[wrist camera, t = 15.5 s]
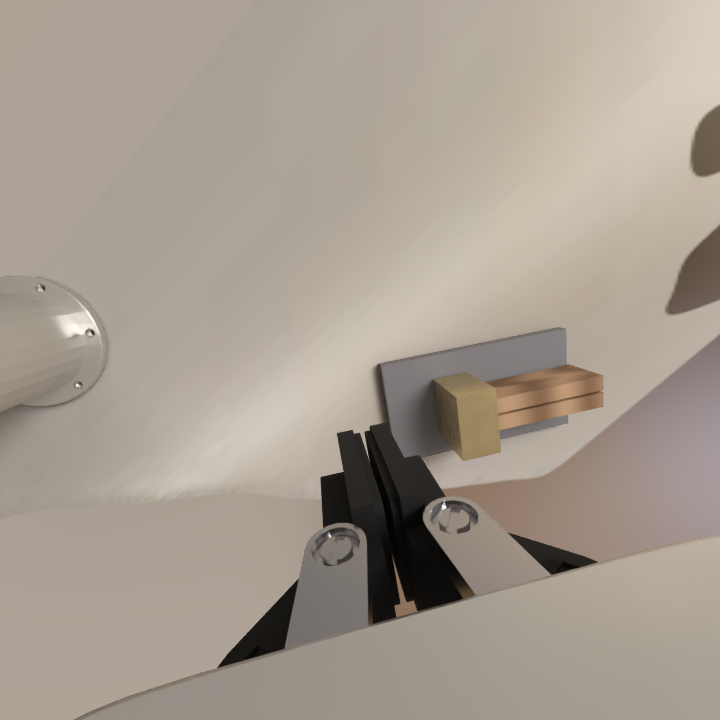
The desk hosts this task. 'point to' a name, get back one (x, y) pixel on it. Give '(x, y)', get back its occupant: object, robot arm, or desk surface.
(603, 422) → the desk surface
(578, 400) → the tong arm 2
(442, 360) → the tong mat
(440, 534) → the robot arm
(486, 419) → the tan block
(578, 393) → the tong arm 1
